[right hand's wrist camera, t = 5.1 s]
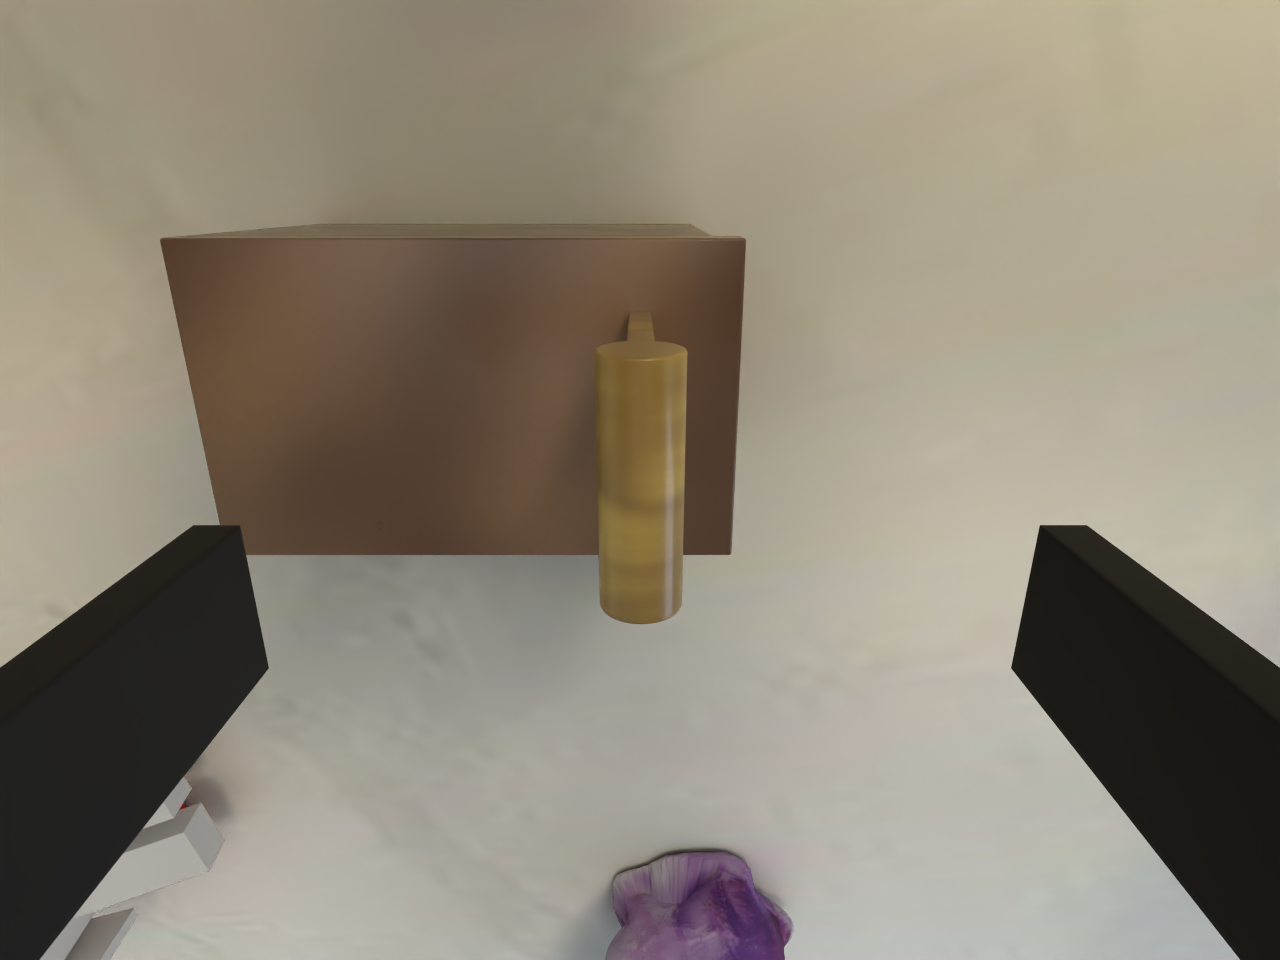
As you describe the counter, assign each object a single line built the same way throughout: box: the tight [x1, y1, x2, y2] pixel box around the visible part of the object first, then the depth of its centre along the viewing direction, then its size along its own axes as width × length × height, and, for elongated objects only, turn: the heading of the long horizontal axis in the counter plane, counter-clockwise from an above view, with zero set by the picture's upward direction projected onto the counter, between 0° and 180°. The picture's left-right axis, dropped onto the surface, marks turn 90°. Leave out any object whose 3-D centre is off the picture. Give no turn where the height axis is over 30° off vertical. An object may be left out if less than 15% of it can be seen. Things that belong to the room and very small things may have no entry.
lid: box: [160, 236, 746, 624], centre depth 21 cm, size 17×10×9 cm, turn 90°
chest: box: [190, 224, 711, 236], centre depth 30 cm, size 16×10×10 cm, turn 90°
